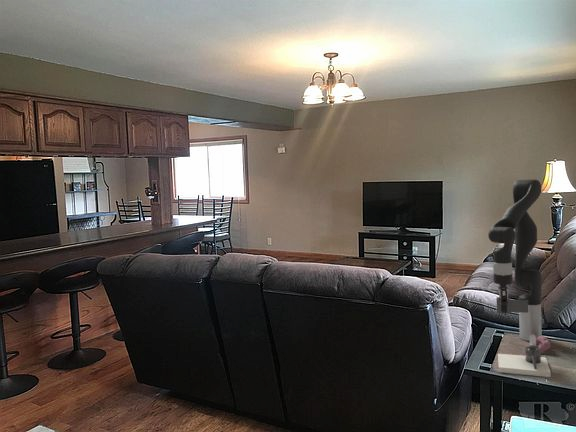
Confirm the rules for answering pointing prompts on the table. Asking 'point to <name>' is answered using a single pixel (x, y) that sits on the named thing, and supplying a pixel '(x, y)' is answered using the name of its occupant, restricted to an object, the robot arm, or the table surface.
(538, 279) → the robot arm
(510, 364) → the board
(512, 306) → the grey rectangular block
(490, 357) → the table surface
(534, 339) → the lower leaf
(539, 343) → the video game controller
